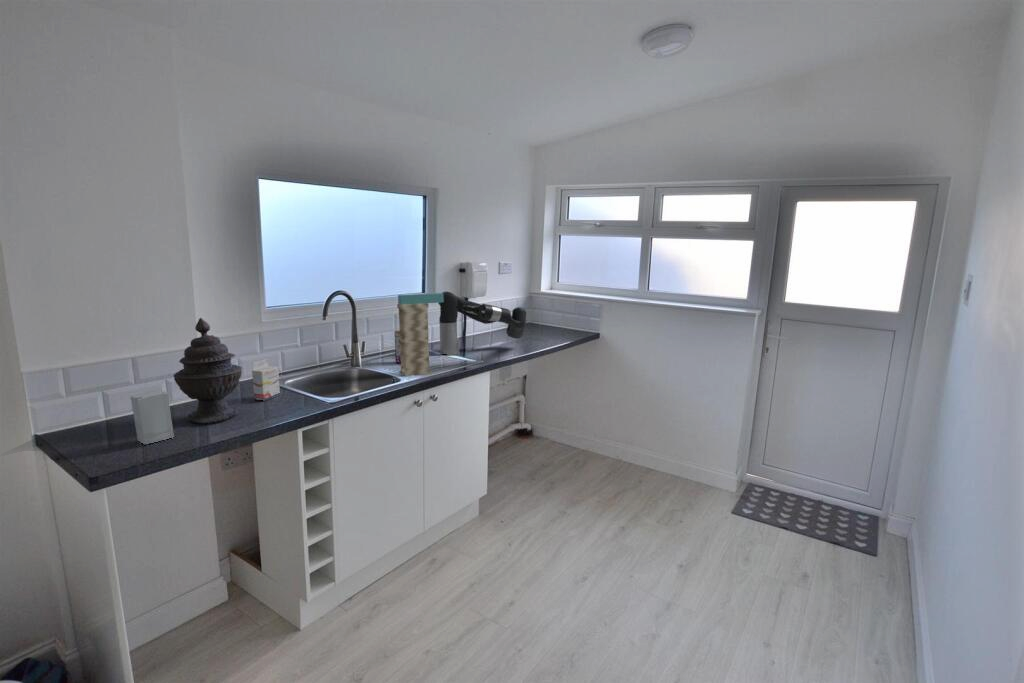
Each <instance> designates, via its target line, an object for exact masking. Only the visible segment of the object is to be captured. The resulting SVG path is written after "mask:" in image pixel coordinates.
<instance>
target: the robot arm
mask: <svg viewBox="0 0 1024 683" xmlns="http://www.w3.org/2000/svg"><path fill="white" fill-rule="evenodd" d="M441 293H443V295H444V302H441V303H438V306H440V307H439V309H440V311H439V312H440V314H439V320H438V321H439V346H440V347H439V351H440V353H441V354H447V355H446V356H455V355H458V354H460V340H459V339H460V338H459V335H458V315H459V314H458V313H461V314H463V315H464V316H466V317H467V318H469V319H471V320H474V321H476V322H479V323H482V324H485V325H489V324H493V323H496V322H497V323H504V324H506V325H507V328H506V332H505V333H506V335H507V336H508V337H510V338H513V339H516V340H517V339H521V338H522V336H523V334H524V330H525V327H526V321H527V320H526V319H527V311H526V309H525V308H524V307H519V306H518V307H515V308H514V309H513V310H512V313H511V310H510V309H508V308H505V307H499V306H497V305H491V304H487V303H482V304H481V303H478V302H474V301H470V300H466V299H464V298H461V297H459V296H457V295H455V293H453V292H450V291H442V292H441ZM441 354H440V355H441Z"/></svg>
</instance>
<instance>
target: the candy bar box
mask: <svg viewBox="0 0 1024 683" xmlns="http://www.w3.org/2000/svg"><path fill="white" fill-rule="evenodd" d="M394 353H395V355H394V356H395V363H396V362H401V354H400V330H399V328H398V329H396V330H394Z"/></svg>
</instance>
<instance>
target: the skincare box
mask: <svg viewBox="0 0 1024 683" xmlns="http://www.w3.org/2000/svg"><path fill="white" fill-rule="evenodd" d="M130 400H131V407H132V413H133V420H134V425H135V426H134V427H135V431H136V439H137V441H140V442H141V443H143V444H149V443H154V442H158V441H161V440H165V441H167V440H166V439H169V438H172V439H174V438H175V435H174V427H173V421H172V414H171V413H172V412H171V408H170V400H169V393H168V392H166V391H164V390H162V389H156V390H152V391H148V392H143V393H137V394H133V395H130ZM173 437H174V438H173ZM169 440H170V439H169ZM161 442H162V441H161ZM141 443H140V444H141ZM158 443H159V442H158ZM154 444H155V443H154Z"/></svg>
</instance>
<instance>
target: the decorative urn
mask: <svg viewBox="0 0 1024 683" xmlns="http://www.w3.org/2000/svg"><path fill="white" fill-rule="evenodd" d="M194 330H195V331H196V332H198V333H200V335H201V336H198V337H195V338H192V339H191V341H190V345H189V346H188V347H186V348H185V349H184V351H183V355H184V357H182V358H181V359H179V361H178V362H179V364H182V365H183V368H182V369H180V370H178V371H177V372H175V373H174V374H173V377H174V378H173V379H174V382H175V384H176V385H177V386H178V387H179V390H180V391H181V392H182V393H184V395H186V396H187V397H188V398H189V399H191V400H197V408H196V411H195V410H194V411H192V412H191V413H189V414H187V415H186V420H188V421H190V422H192V423H194V422H196V423H195V424H206V423H208V422H215V421H219V422H221V421H220V420H223V421H225V420H224V419H227V418H229V417H232V416H233V417H235V416H236V415H238V414H239V409H238V408H237V407H233V406H229V404H228V402H227V400H226V398H225V397H227V396H229V395H230V394H232V393H233V392H234V390H235V389H236V387H237V386H238V385H239V383H240V379H241V377H242V370H243V367H242V366H240V365H237V364H232V358H234V357H235V356H236V355H235V354H234V353H231V352H229V349H228V345H226V344H225V343H221V342H222V341H221V339H220V337H218V336H215V335H212V334H211V335H208V332H209V331H210V330H211V326H210V324H209V322H207V321H206V320H205V319H203V318H202V317H199V319H198V321H197V322H196V325H195V327H194ZM234 415H235V416H234ZM233 417H232V418H233ZM227 420H228V419H227ZM208 424H209V423H208Z"/></svg>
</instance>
